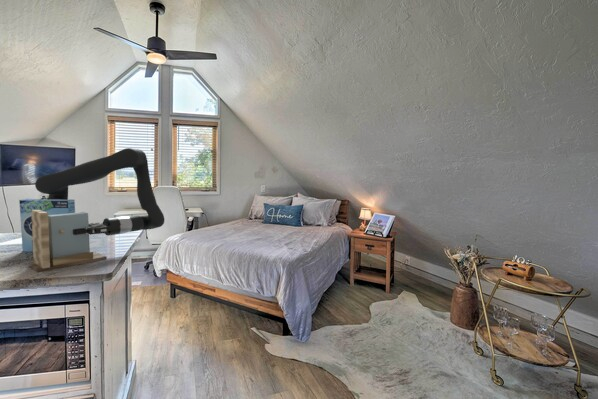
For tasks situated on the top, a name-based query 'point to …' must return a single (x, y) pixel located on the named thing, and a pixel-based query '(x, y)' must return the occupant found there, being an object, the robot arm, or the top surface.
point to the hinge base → (42, 247)
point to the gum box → (44, 205)
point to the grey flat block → (67, 234)
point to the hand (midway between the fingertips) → (71, 231)
